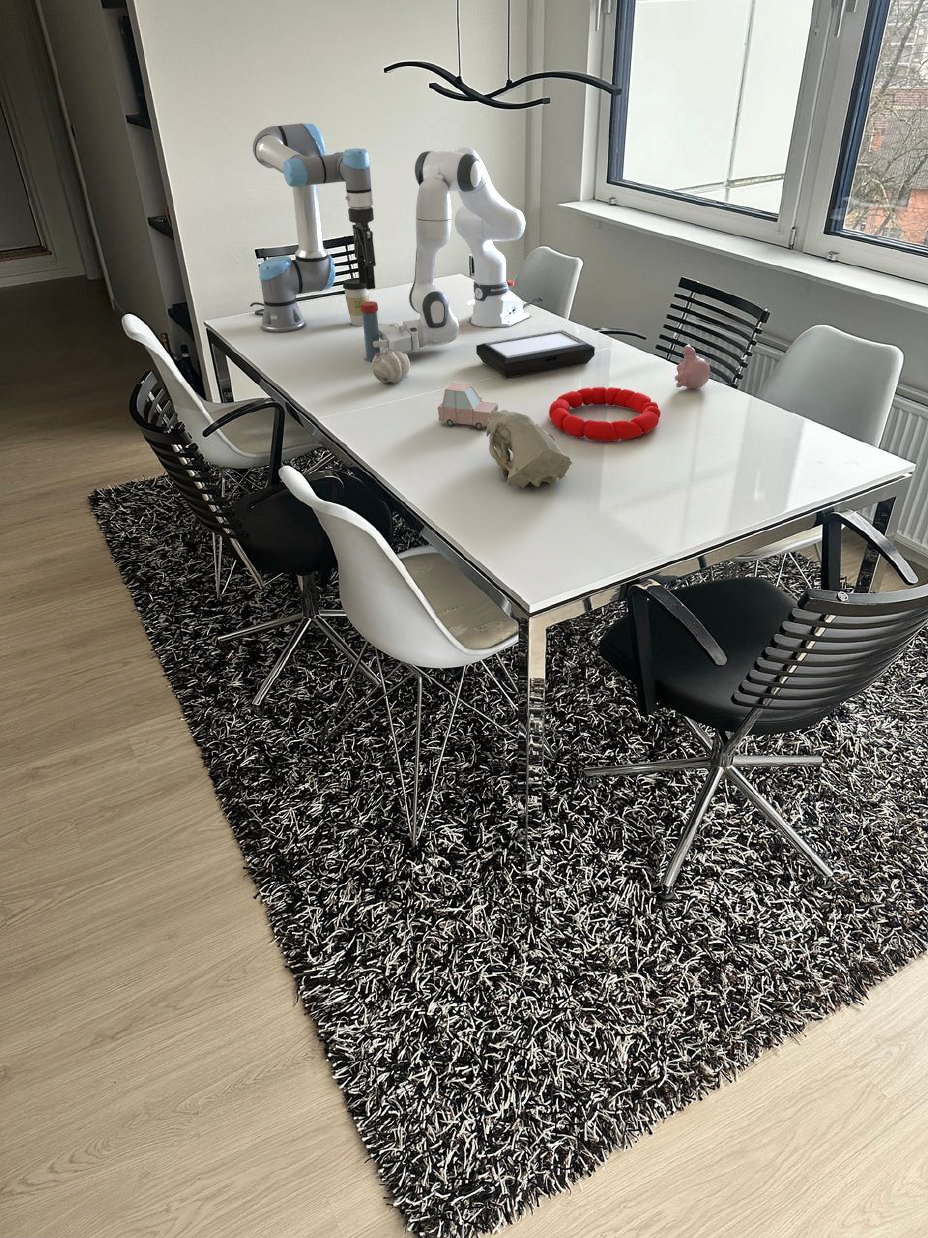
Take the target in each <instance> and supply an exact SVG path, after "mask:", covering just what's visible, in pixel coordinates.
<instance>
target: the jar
mask: <svg viewBox="0 0 928 1238" xmlns="http://www.w3.org/2000/svg"><path fill="white" fill-rule="evenodd" d="M362 316H363V325H362V328H363V337H364V348H365V349H364V350H365V358H366V361H369V362H372V361H373V358H374V357H375V354H376V353H381V347H374V346H373V341H374V340H378V341H380V338H379V330H378V325H379V320H378V318H379V317H378V311H377V312H374V313H363V312H362Z"/></svg>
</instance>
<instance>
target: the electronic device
mask: <svg viewBox="0 0 928 1238" xmlns="http://www.w3.org/2000/svg"><path fill="white" fill-rule="evenodd" d="M475 347H476V348H475V349H476V350H475V351H476V352H475V354H476V355H477V356H478V357H479V359H480V360H481V362H482V364H484V365H486V366H488V367H489V368H490V369H492V370H493V371H495V372H497V373H498V374H500V375H501V376H503V377H504V378H505V379H508V378H514V377H520V376H524V375H525V376H526V375H530V374H536V373H541V372H547V371H548V372H549V371H553V370H558V369H564V368H569V367H576V366H578V365H586V364H588V363H589V362H590V361H591V360H592V358H593V357H594V356H595V355H596V354H595V351H596V346H594V345H592V344H591V343H588V342H586V341H584V340H582V339H580V338H578V337H576V336H575V335H573V334H571V333H569V332H567V331H566V330H562V329H560V330H555V331H550V332H544V333H537V334H532V335H531V334H530V335H525V336H519V337H514V338H508V339H502V340H497V341H491V342H485V343H480V344H477V345H476V346H475Z"/></svg>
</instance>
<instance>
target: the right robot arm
mask: <svg viewBox="0 0 928 1238" xmlns="http://www.w3.org/2000/svg"><path fill="white" fill-rule="evenodd" d="M414 175H415V176H414V177H415V179H416V182H417V184H418V186H419V187H418V191H417V196H416V204H415V205H416V206H415V235H416V236H415V237H416V242H415V243H416V250H415V266H414V267H415V268H414V280H413V283H412V286H411V288H410V291H409V295H408V303H409V306H410V307H411V309H412V310H413V311H414V312H415V313H417V314H419V319H410V320H405V321H403V322H402V323H401V324H402V325H400V324H398V323H396V322H392V323H391V322H389V323H380V324H379V323H378V330H379V341H378V340H374V341H373V346H374V347H380V348H388V350H396V351H401V352H402V353H403V352H404V353H405V352H411V351H412V353H417V352H419V351H420V348H424V347H426V346H432V347H435V346H440V345H447V344H449V343H452V342H453V341H455V340H456V339H457V337H458V334H459V331H460V329H459V328H460V327H459V326H460V325H459V321H458V318H457V317H456V316H455V315H454V313H453V311H452V310H451V307H450V304H449V300H448V297H447V296H446V295H445V293H443V292H442V291H441V290H439V289H437V286H436V283H435V268H436V267H435V266H436V256H437V253H438V252H439V251H440V249H442V248H444V247H445V245H447V243H448V242H449V240H450V236H451V231H452V203H451V192H457V193H458V196H459V198H460V200H461V202H462V204H463V205H462V206H460V207H459V208H458V209H457V210H456V212H455V216H454V227H455V231H456V232H457V234H458V235H459V236H461V238H463V240H464V241H465V243H466V244H467V245H468V248H469V250H470V253H471V255H472V260H473V271H474V281H473V285H472V286H473V294H474V296H473V299H472V300H468V301H467V305H471V304H472V313H471V320H470V323H471V324H472V325H475V326H477V327H483V328H485V327H486V328H495V327H496V328H497V327H508V328H509V327H511V326H513V325H515V324H517V323H519V322H521V321H524V320H526V319H528V318H529V317H530V313H529V312H527V311H525V310H524V308H525V307H526V306H528V305H530V304H532V303H534V302H535V301H537V300H539V301H541V302H543V299H542V298H541V297H535V298H533V299H532V300H530V301H528V302H526V303H524V304H523V301H522V299H521V298H520V297H518V296H517V295H516V294H515V293H514V292H512V291H511V290H510V287H511V288H512V287H514V285H515V281H514V280H511V279H508V280H507V261H506V257H505V256H504V254H503V253H502V252H501V251H499V250H498V249H497V248H496V246H495V245H494V244H493V242H494V241H495V242H512V241H518V240H519V239H520V238H521V237H522V236H523V235H524V232H525V229H526V218H525V215H524V214H523V211H521V210H520V209H518V208H517V207H514V206H513V205H511V203H509V202H507V200H505V199H504V198H503V197H502V196H501V195H500V194H499V192H498V191H497V190H496V189H495V187H494V185H493V182H492V180H491V178H490V176H489V173H488V171H487V168H486V166H485V164H484V162H483V160H482V158H481V157H480V155H479V154H478V153H477V151H476V150H475V149H474V148H472V147H470V146H462V147H459V148H457V149H456V150H454V151H450V150H448V151H445V150H443V151H442V150H437V151H434V150H426V151H423V152H421V153H420V154H419V155H418V157H417V159H416V161H415V164H414Z"/></svg>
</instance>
